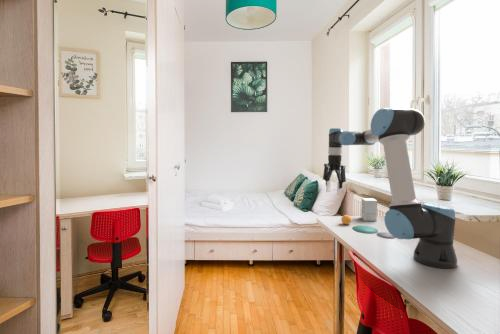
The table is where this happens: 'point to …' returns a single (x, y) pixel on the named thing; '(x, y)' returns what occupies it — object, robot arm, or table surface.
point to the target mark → (365, 229)
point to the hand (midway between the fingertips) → (333, 192)
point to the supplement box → (369, 209)
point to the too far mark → (385, 235)
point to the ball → (346, 219)
